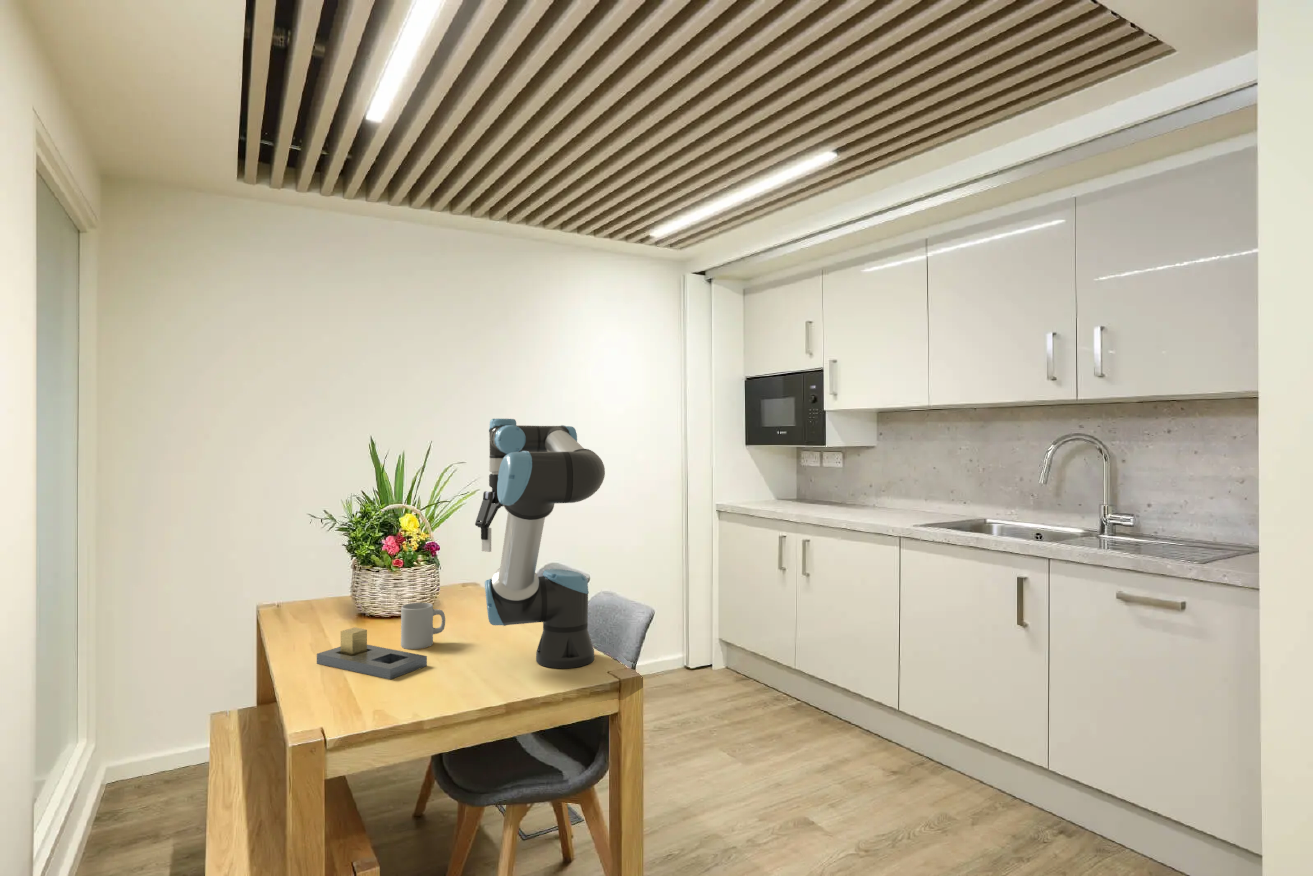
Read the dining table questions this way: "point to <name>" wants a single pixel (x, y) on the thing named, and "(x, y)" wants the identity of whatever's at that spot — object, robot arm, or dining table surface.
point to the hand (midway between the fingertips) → (502, 548)
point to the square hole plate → (374, 661)
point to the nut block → (353, 641)
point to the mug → (419, 625)
